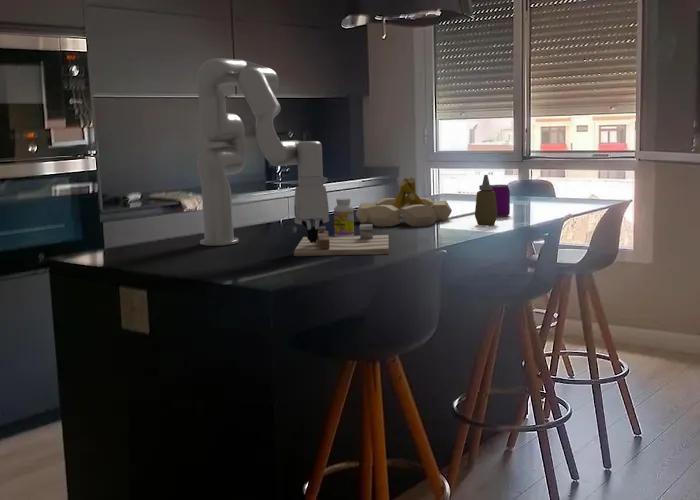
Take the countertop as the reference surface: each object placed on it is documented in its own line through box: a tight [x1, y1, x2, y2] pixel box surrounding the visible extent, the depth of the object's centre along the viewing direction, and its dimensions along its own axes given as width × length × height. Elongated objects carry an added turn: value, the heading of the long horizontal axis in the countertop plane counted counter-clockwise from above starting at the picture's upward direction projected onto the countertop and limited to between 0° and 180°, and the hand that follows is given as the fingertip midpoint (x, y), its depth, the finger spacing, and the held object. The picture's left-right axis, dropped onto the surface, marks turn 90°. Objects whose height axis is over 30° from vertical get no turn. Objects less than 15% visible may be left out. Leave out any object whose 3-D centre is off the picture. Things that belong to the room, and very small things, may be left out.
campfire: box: [355, 176, 453, 228], centre depth 314 cm, size 35×34×17 cm
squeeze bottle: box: [474, 174, 498, 227], centre depth 296 cm, size 8×8×18 cm
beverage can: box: [492, 184, 511, 218], centre depth 320 cm, size 8×8×12 cm
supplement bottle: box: [333, 197, 355, 236], centre depth 280 cm, size 7×7×13 cm
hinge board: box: [293, 223, 390, 257], centre depth 258 cm, size 28×28×6 cm
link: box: [316, 230, 330, 249], centre depth 256 cm, size 20×4×2 cm, turn 4°
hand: (312, 241), depth 254 cm, fingers closed
